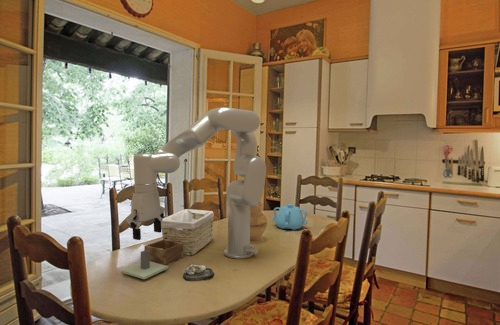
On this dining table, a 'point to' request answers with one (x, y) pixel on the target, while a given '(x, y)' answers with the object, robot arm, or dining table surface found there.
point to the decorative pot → (289, 217)
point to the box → (165, 251)
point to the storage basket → (189, 229)
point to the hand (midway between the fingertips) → (147, 235)
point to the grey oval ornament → (197, 273)
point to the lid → (144, 267)
